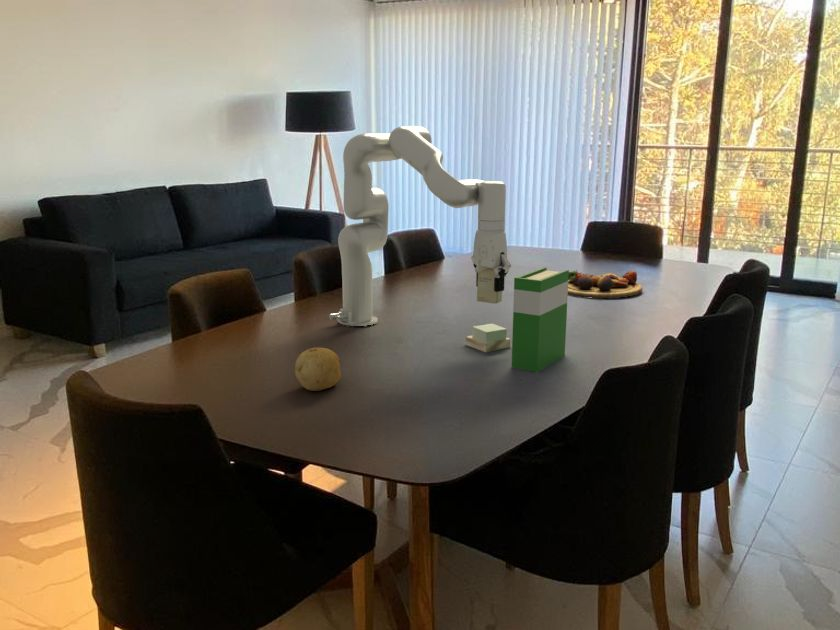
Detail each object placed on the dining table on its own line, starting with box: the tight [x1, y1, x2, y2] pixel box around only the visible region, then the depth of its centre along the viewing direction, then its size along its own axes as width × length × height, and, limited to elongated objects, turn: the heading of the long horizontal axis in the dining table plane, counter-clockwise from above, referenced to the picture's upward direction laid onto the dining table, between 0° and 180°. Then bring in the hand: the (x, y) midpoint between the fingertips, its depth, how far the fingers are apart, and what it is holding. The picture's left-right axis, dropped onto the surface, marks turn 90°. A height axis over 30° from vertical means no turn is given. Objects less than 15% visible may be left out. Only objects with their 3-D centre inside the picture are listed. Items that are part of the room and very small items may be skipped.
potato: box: [294, 347, 342, 392], centre depth 187 cm, size 10×12×10 cm
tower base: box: [465, 335, 511, 353], centre depth 223 cm, size 9×9×3 cm
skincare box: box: [476, 260, 503, 305], centre depth 219 cm, size 6×4×12 cm
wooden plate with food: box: [568, 269, 643, 299], centre depth 297 cm, size 32×32×8 cm
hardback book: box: [511, 266, 570, 373], centre depth 207 cm, size 18×7×24 cm, turn 147°
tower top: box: [471, 323, 508, 342], centre depth 222 cm, size 7×7×3 cm
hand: (490, 288), depth 220 cm, fingers closed on skincare box, 7 cm apart
